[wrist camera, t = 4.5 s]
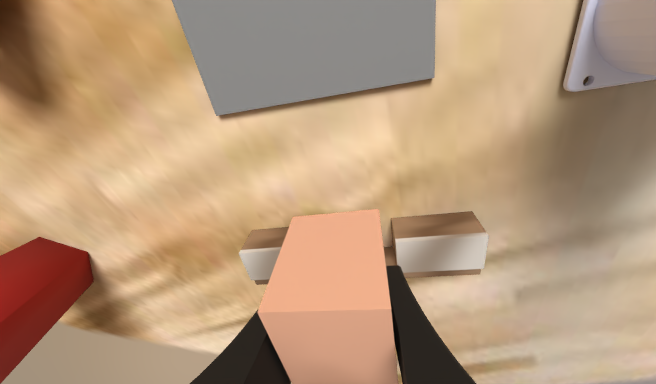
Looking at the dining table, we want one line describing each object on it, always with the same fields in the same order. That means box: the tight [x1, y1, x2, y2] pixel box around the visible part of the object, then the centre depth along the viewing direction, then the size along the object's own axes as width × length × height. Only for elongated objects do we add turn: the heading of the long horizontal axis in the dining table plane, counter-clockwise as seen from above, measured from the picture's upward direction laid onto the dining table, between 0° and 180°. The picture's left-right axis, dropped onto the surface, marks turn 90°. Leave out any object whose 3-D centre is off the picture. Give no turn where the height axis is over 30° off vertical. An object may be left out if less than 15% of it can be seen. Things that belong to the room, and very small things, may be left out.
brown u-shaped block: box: [239, 211, 489, 285], centre depth 21 cm, size 18×4×3 cm, turn 100°
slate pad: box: [172, 0, 436, 116], centre depth 14 cm, size 14×10×1 cm
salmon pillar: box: [257, 209, 398, 384], centre depth 12 cm, size 4×8×5 cm, turn 10°
